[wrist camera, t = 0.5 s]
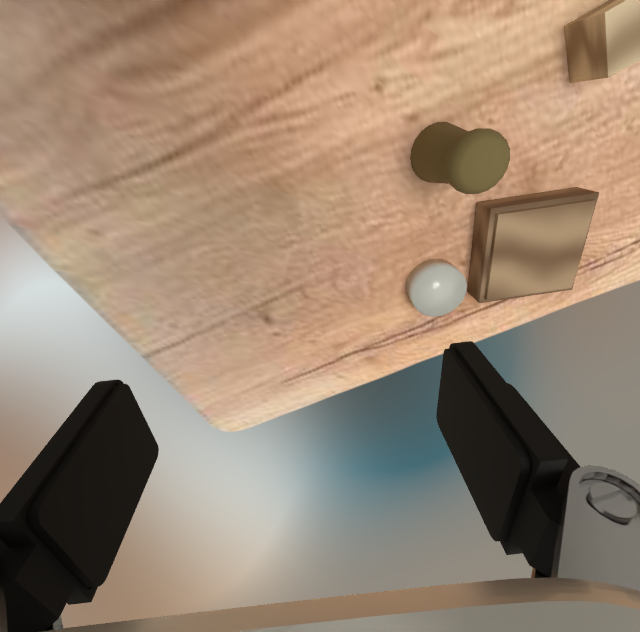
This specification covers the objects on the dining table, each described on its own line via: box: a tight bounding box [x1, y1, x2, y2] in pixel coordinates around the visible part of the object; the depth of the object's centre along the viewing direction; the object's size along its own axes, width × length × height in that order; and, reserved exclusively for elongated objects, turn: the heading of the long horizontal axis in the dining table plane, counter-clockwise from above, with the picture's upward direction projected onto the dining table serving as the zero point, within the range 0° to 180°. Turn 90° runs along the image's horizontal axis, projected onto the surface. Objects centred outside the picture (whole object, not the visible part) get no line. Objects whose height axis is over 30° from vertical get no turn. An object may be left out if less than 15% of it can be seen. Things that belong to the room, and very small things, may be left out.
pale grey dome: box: [406, 259, 467, 316], centre depth 44 cm, size 7×7×3 cm
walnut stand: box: [467, 187, 599, 303], centre depth 41 cm, size 12×12×4 cm
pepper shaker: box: [410, 122, 510, 194], centre depth 32 cm, size 6×6×11 cm
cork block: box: [564, 0, 640, 83], centre depth 31 cm, size 5×5×5 cm
